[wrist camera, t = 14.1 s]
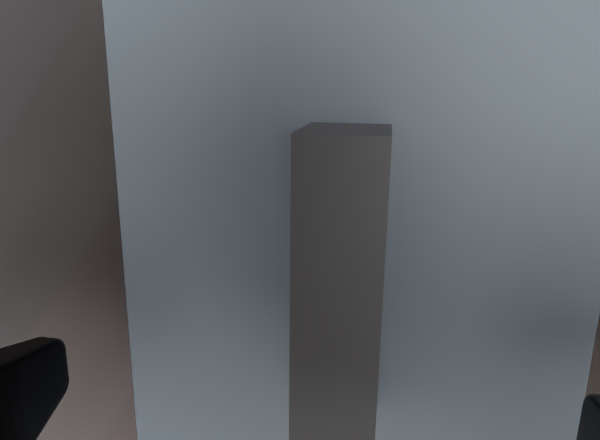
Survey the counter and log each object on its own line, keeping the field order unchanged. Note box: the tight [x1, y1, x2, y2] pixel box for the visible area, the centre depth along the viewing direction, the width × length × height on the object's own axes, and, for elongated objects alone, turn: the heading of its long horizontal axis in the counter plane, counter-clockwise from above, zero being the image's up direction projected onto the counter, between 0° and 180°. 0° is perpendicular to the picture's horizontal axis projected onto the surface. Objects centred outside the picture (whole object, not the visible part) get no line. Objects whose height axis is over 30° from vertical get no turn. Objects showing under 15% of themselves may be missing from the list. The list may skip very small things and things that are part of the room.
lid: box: [102, 0, 600, 440], centre depth 14 cm, size 13×16×5 cm
